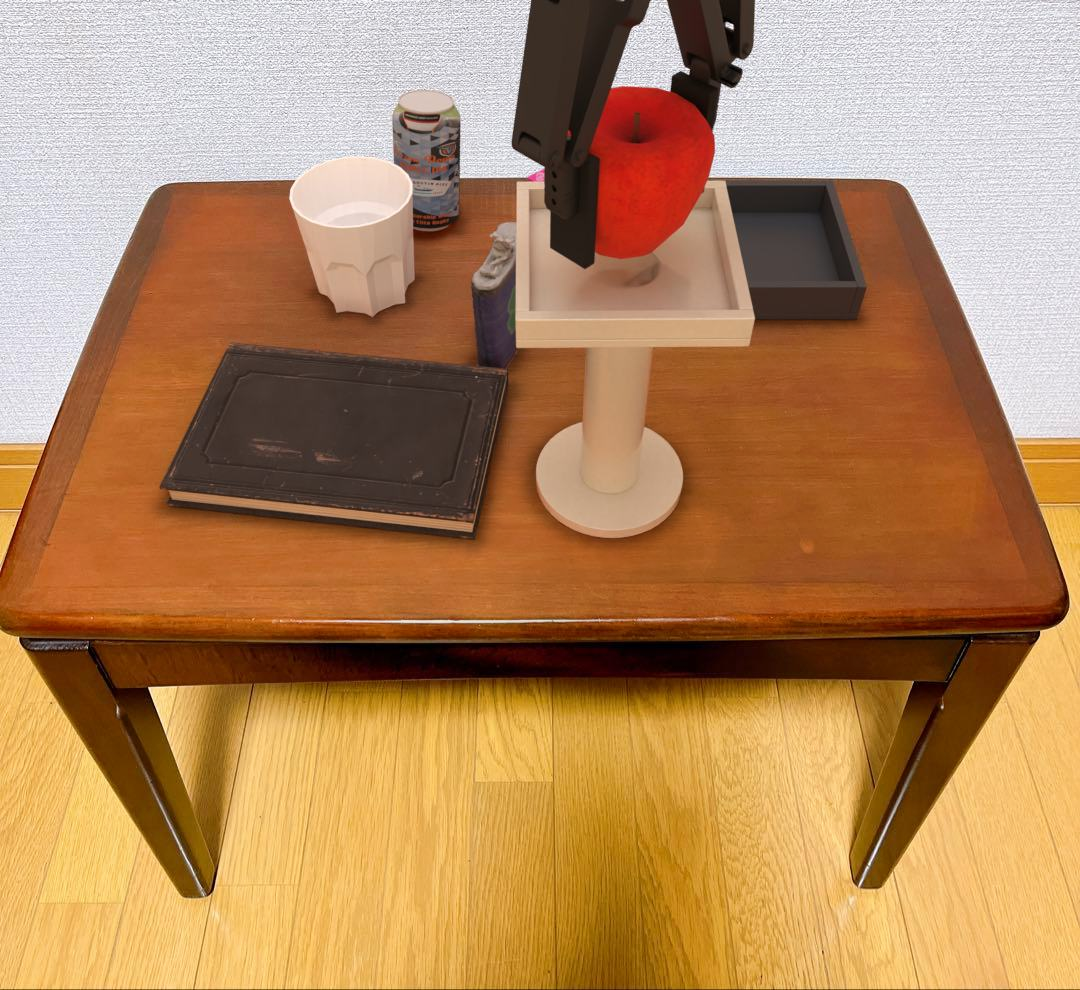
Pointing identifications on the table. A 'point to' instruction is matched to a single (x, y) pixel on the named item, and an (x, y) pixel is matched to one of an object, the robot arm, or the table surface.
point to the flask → (496, 300)
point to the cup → (357, 231)
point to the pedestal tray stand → (624, 354)
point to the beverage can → (429, 155)
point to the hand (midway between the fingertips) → (629, 218)
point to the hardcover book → (342, 440)
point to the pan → (796, 250)
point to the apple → (648, 168)
